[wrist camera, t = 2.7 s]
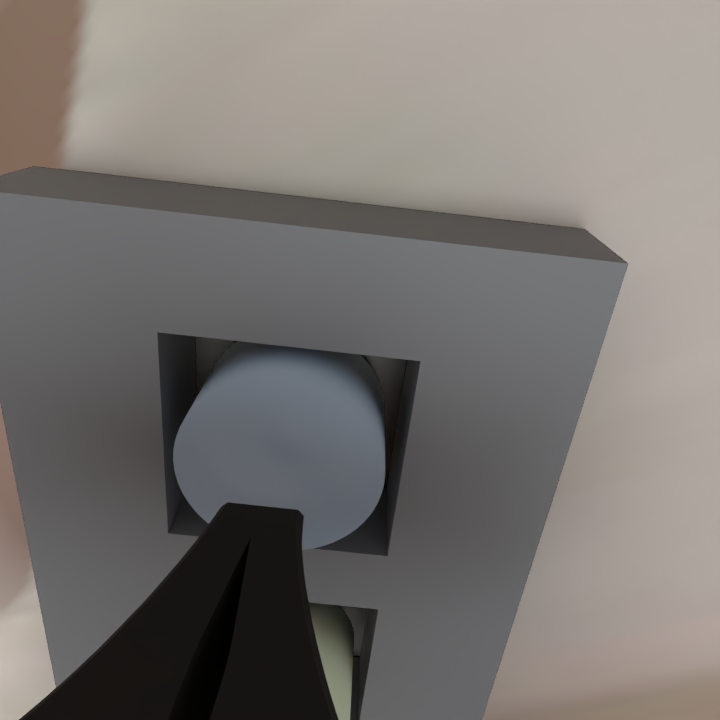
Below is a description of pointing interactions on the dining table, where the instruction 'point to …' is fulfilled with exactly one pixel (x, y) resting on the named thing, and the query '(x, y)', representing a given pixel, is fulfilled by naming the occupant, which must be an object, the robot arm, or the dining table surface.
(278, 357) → the button slate
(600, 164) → the dining table surface
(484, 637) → the button panel
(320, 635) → the button sage
